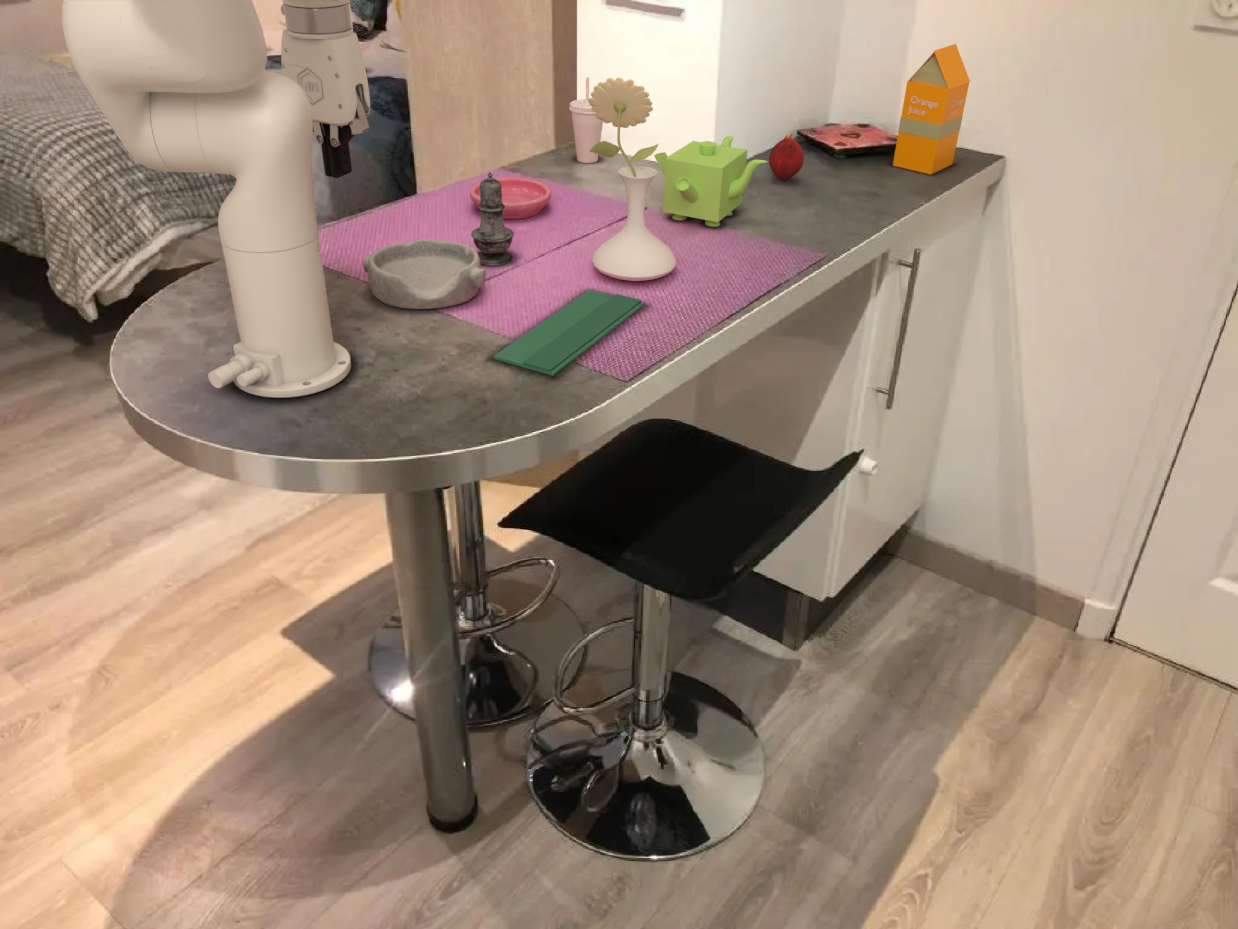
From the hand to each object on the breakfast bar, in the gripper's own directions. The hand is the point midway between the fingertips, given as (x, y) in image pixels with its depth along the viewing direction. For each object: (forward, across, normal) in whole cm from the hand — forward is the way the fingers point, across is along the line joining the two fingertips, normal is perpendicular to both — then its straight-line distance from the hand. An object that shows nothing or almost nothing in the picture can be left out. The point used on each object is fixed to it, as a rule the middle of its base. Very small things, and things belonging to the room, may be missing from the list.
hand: (338, 173), depth 129 cm
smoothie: (+14, +2, +60) cm, 62 cm away
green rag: (+13, +35, -1) cm, 37 cm away
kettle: (+14, +32, +45) cm, 57 cm away
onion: (+14, +36, +68) cm, 78 cm away
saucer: (+14, +5, +31) cm, 35 cm away
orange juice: (+14, +54, +91) cm, 107 cm away
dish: (+13, +13, -1) cm, 18 cm away
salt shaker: (+13, +14, +13) cm, 23 cm away
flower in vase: (+13, +32, +19) cm, 40 cm away
